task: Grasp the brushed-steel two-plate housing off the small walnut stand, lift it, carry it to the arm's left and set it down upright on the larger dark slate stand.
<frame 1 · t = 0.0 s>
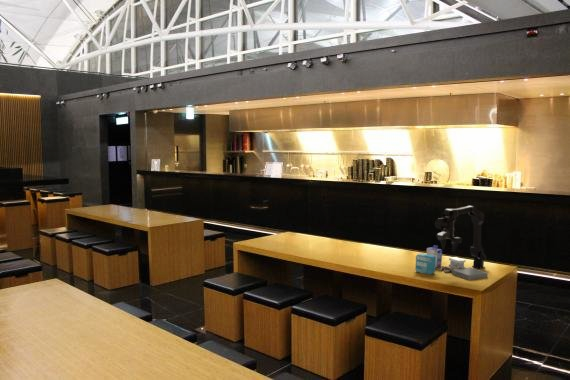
hand: (448, 250, 324), 15 cm above the table, fingers open, 9 cm apart
stand b: (469, 275, 316), on the table
bolt 1: (448, 272, 324), on the table
data package: (425, 272, 323), on the table
bolt 2: (441, 270, 329), on the table
stand a: (456, 270, 329), on the table
housing: (456, 267, 329), point 2 cm above the table, touching stand a
ink cartridge box: (433, 265, 341), on the table
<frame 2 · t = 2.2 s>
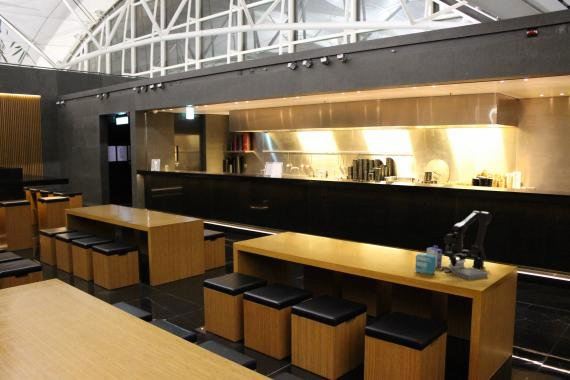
hand: (456, 265, 329), 3 cm above the table, fingers closed on housing, 6 cm apart
housing: (456, 267, 329), point 2 cm above the table, touching gripper, stand a
everything else where it was.
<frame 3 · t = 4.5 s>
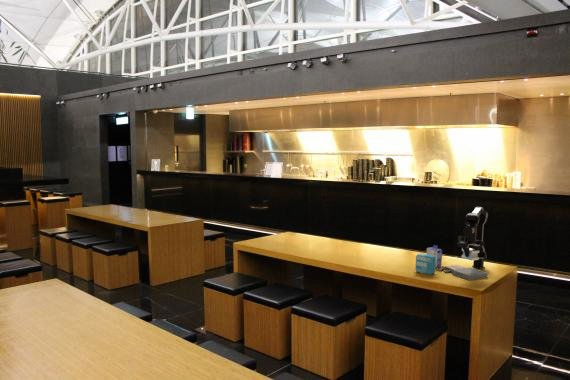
hand: (470, 256, 315), 13 cm above the table, fingers closed on housing, 6 cm apart
housing: (470, 258, 315), point 12 cm above the table, touching gripper
everything else where it was.
when the fingers open (5 cm above the table, at t = 6.6 s): housing drops 1 cm, resting on stand b.
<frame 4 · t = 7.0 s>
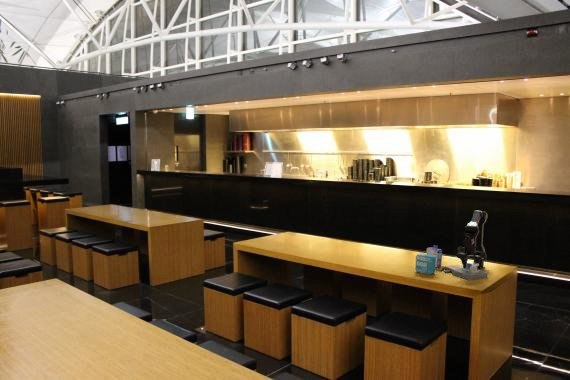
hand: (469, 267, 316), 5 cm above the table, fingers open, 9 cm apart
housing: (469, 271, 316), point 3 cm above the table, touching stand b
everything else where it was.
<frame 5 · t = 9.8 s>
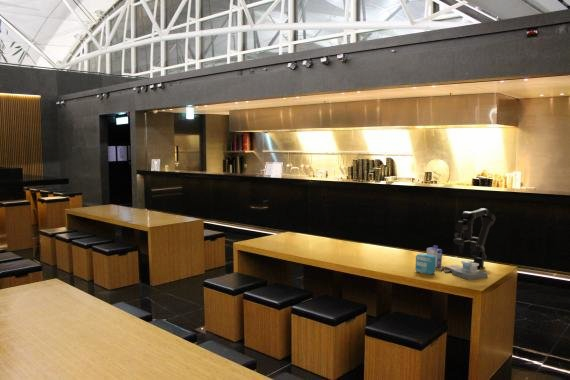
hand: (466, 252, 327), 13 cm above the table, fingers open, 9 cm apart
nothing on the table moved.
at the end: housing inside the target area on the stand b (0.1 cm from its centre), point 3.0 cm above the stand b's base; housing tilted 0°; the gripper is holding nothing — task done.
